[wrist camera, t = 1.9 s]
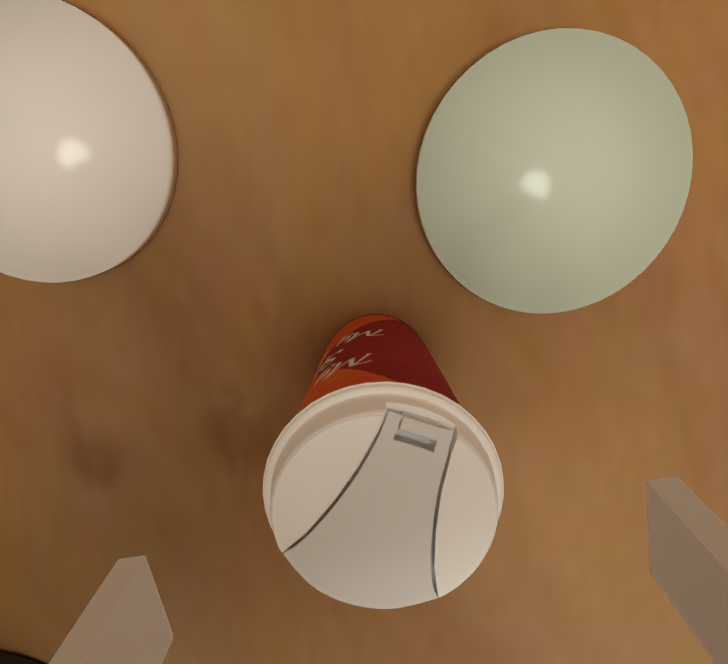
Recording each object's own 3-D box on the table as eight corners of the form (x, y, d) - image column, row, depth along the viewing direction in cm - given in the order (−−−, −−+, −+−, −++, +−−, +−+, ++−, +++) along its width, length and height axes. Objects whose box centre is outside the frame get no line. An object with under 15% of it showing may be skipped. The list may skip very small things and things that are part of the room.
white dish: (-30, 298, 28) (-47, 303, 27) (-136, 28, 25) (-161, 21, 24) (207, 254, 28) (200, 257, 27) (133, -30, 24) (121, -40, 23)
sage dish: (435, 327, 29) (438, 333, 28) (395, 65, 25) (396, 60, 24) (681, 284, 28) (695, 288, 27) (675, 8, 25) (690, 0, 23)
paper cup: (330, 274, 28) (297, 363, 15) (467, 320, 29) (557, 446, 15) (288, 405, 30) (224, 590, 17) (416, 445, 31) (456, 654, 17)
